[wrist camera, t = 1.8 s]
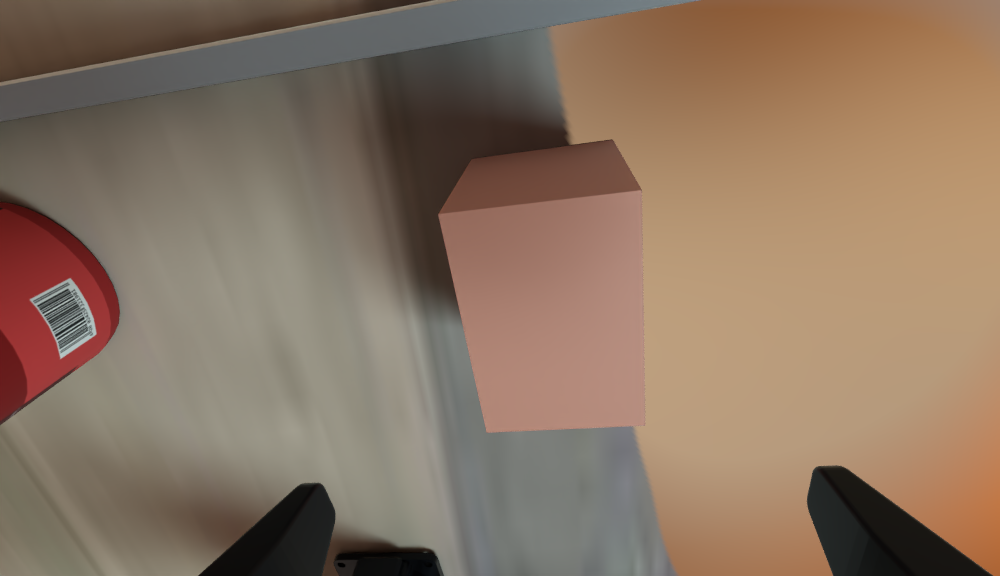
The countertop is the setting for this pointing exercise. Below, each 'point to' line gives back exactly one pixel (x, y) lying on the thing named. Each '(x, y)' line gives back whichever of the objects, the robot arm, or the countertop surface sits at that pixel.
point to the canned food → (47, 306)
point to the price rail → (297, 50)
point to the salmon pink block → (551, 286)
